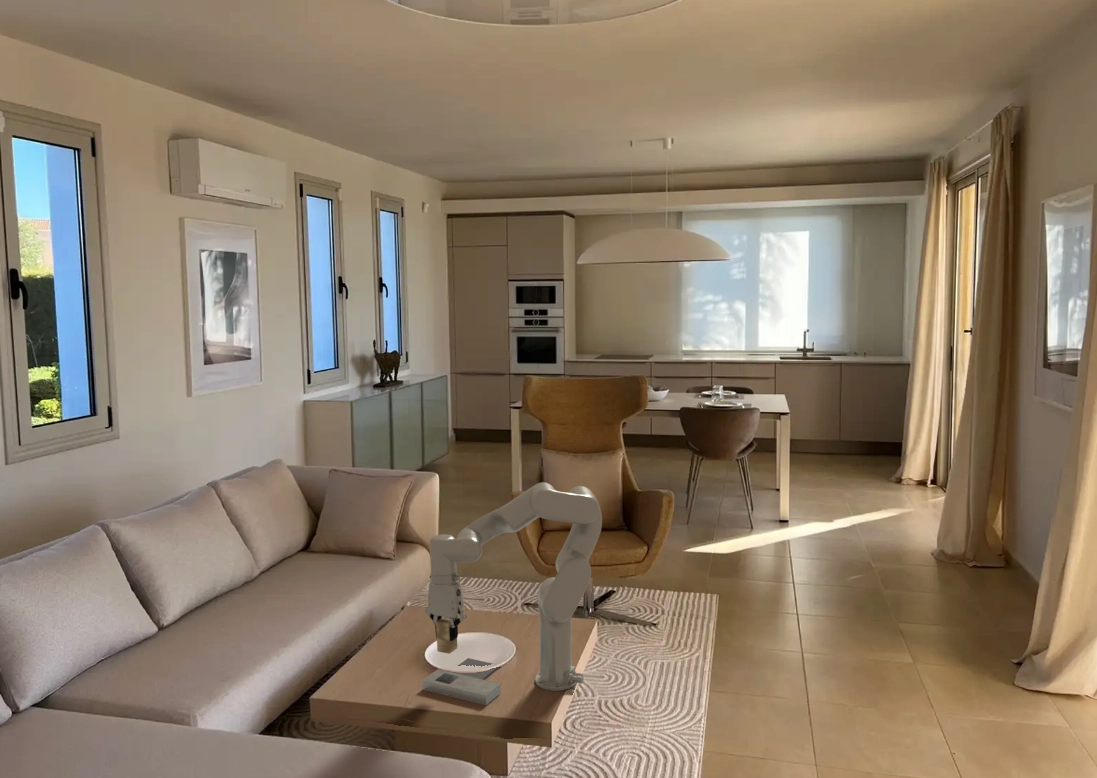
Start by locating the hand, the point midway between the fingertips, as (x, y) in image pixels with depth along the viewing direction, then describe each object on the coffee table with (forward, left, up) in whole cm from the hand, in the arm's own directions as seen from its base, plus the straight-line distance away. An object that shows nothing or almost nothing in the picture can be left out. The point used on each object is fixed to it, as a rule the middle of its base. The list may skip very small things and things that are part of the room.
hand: (446, 637), depth 247 cm
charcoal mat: (-1, -13, -16) cm, 20 cm away
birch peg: (0, 0, -4) cm, 4 cm away
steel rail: (-5, 0, -16) cm, 16 cm away
